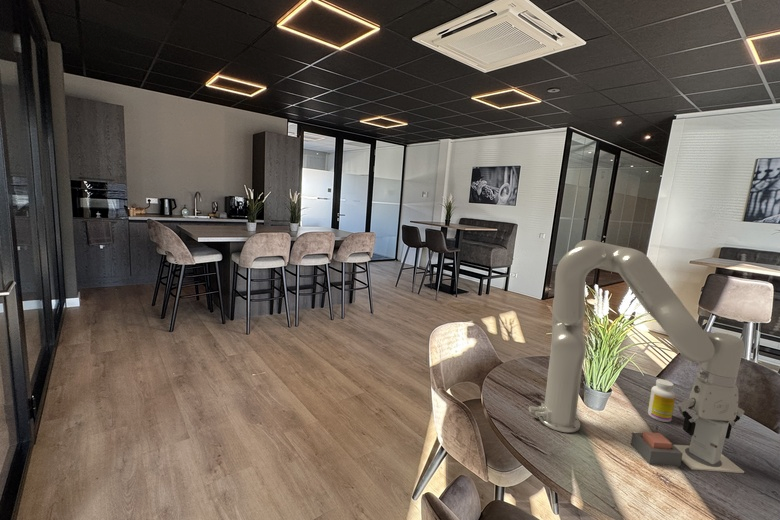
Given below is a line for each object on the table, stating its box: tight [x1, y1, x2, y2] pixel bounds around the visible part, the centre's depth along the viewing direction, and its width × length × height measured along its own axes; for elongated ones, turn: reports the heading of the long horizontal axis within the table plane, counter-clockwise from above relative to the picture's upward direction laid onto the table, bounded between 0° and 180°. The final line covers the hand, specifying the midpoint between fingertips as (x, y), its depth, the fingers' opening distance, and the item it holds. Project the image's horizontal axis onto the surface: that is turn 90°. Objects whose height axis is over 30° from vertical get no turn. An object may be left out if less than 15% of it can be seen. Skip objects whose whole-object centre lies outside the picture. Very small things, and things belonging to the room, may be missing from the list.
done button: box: [642, 431, 673, 449], centre depth 103 cm, size 5×5×3 cm
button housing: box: [630, 432, 683, 467], centre depth 103 cm, size 8×8×4 cm
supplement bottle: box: [647, 378, 676, 423], centre depth 123 cm, size 7×7×13 cm
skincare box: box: [689, 417, 729, 464], centre depth 102 cm, size 6×4×12 cm
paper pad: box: [673, 444, 745, 474], centre depth 103 cm, size 14×10×1 cm
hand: (705, 434), depth 102 cm, fingers open, 9 cm apart
